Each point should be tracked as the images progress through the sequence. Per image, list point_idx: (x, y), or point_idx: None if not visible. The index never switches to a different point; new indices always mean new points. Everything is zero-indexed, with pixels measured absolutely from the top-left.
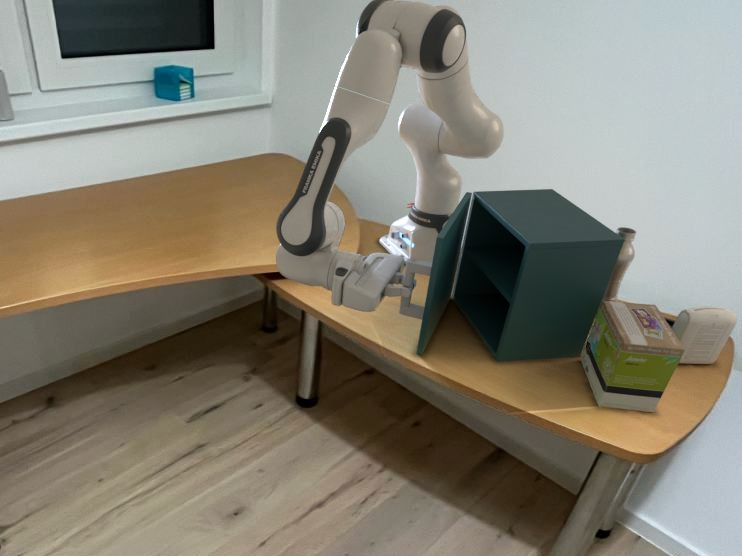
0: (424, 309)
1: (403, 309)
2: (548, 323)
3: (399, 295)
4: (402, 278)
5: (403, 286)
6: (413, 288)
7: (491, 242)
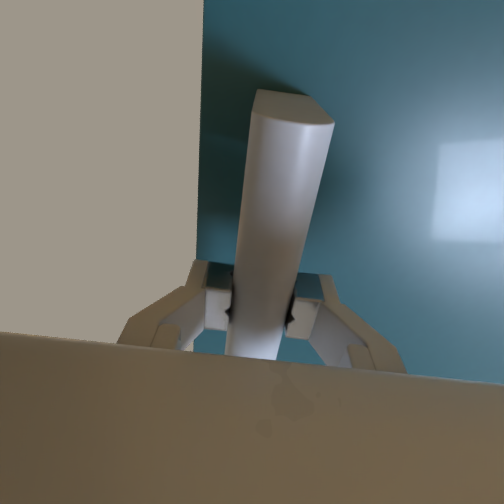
0: (198, 179)
1: (246, 163)
2: None
3: (178, 291)
4: (337, 362)
5: (208, 325)
6: None
7: None
